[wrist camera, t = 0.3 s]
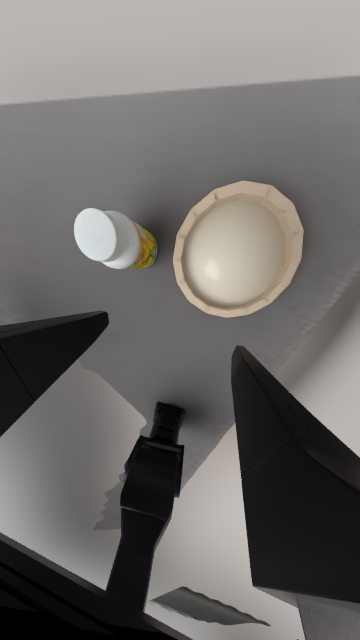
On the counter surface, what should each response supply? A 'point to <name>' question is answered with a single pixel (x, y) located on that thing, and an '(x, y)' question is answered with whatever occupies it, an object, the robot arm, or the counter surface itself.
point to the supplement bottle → (114, 239)
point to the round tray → (238, 249)
